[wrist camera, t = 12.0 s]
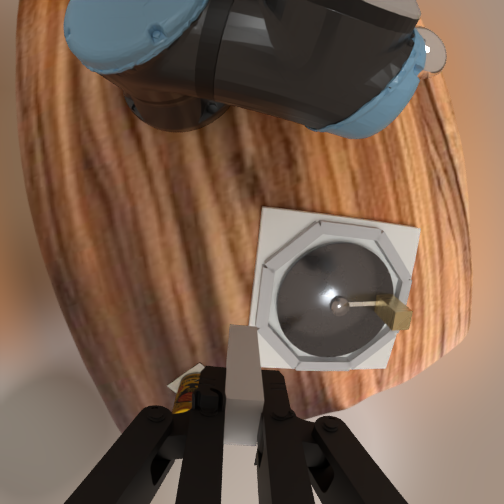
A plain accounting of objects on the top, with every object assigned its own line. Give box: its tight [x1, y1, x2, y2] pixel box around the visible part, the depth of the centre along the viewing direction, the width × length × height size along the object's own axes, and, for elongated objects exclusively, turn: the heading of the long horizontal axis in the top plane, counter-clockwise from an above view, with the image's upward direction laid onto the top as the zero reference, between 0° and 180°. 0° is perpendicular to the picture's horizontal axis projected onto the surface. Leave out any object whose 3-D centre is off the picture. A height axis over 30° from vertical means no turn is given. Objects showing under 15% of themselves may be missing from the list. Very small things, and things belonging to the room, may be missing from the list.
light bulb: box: [415, 26, 447, 79], centre depth 30 cm, size 7×7×12 cm
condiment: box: [168, 363, 205, 414], centre depth 41 cm, size 7×8×12 cm
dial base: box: [248, 206, 421, 371], centre depth 42 cm, size 22×22×4 cm
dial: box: [276, 242, 413, 357], centre depth 37 cm, size 16×16×7 cm
